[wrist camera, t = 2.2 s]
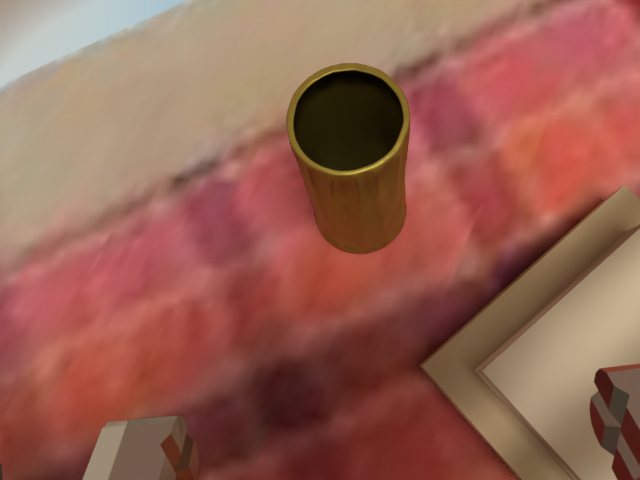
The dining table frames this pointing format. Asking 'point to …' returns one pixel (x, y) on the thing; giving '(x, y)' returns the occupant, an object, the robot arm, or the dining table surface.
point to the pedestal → (551, 348)
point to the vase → (352, 153)
